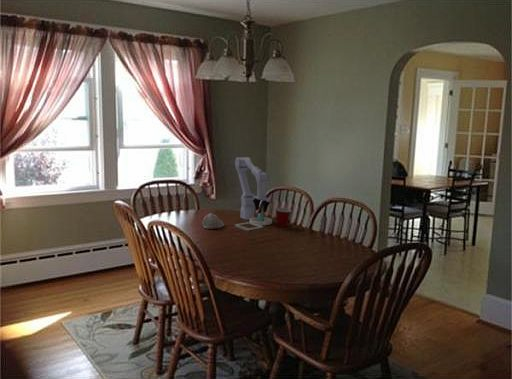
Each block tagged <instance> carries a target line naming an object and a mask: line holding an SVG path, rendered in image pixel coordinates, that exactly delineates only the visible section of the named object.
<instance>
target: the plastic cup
mask: <svg viewBox="0 0 512 379" xmlns="http://www.w3.org/2000/svg"><path fill="white" fill-rule="evenodd" d="M274 210H275V214H276V215H275V216H276V221H277V222H276V223H277V227H281V228H285V227H287V226H288V224H289V218H290V215H291V212H292V209H289V208H285V207H275V208H274Z"/></svg>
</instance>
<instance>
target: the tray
mask: <svg viewBox="0 0 512 379" xmlns="http://www.w3.org/2000/svg"><path fill="white" fill-rule="evenodd" d="M244 225H252V226H254V227H245V226H244ZM234 228H236V229H240V230H242V231H246V232H250V231H252V230H253V231H254V230H258V229H262V228H264V225H258V224H254V223H251V222H250V221H246V222H242V223H236V224H235V223H234Z"/></svg>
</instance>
